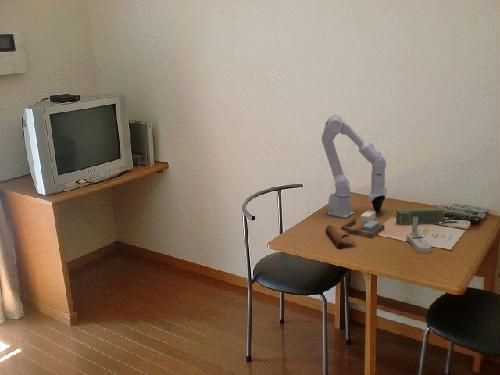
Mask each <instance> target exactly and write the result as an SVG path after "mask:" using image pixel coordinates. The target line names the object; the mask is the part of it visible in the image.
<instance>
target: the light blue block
mask: <svg viewBox="0 0 500 375" xmlns="http://www.w3.org/2000/svg"><path fill="white" fill-rule="evenodd" d="M380 222H381V221H377V220H375V219H374V220H371V221H370V222H368V223H366V224H365V225H363V226H362V230H364V231H369V232H372V231H374V230H375V229H377V228H378V227H379V226H381V224H380Z"/></svg>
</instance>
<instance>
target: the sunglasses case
mask: <svg viewBox="0 0 500 375" xmlns="http://www.w3.org/2000/svg"><path fill="white" fill-rule="evenodd" d="M325 233H326V234H327V235H328V237H330V239H331V240H332V242H333V243H334V244H335V246H336V247H337V248H338V249H339V250H344V249H352V248H358V244H357V243H356V242H355V240H354V239H353V238H352V237H351V236H350V233H347V232H346V231H345V230H342V229H341V228H340V227H337V226H334V225H327V226H326V228H325Z"/></svg>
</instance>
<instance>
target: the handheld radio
mask: <svg viewBox="0 0 500 375" xmlns="http://www.w3.org/2000/svg"><path fill="white" fill-rule="evenodd" d="M447 209H448V208H447V207H428V208H427V207H425V208H423V207H421V208H397V209H396V213H395V214H396V215H395V216H396V217H395V220H396V221H395V224H396V225H402V226H403V225H405V226H406V225H413V217H418V223H417V225H438V224H437V223H439V222H443V221H445V220H452V219H453V220H457V221H458V219H457V218H446V217H448V216H447V214H446V213H447Z"/></svg>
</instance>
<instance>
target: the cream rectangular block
mask: <svg viewBox="0 0 500 375" xmlns="http://www.w3.org/2000/svg"><path fill="white" fill-rule="evenodd" d="M376 213H377V212H376V211H374V210H369V209H367V210H366V211H365V212H363V213H362V214H361V215H360V223H362V224H363V223H365V222H366V221H367V222H370V221H371V220H374V221H375V219H376Z"/></svg>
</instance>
